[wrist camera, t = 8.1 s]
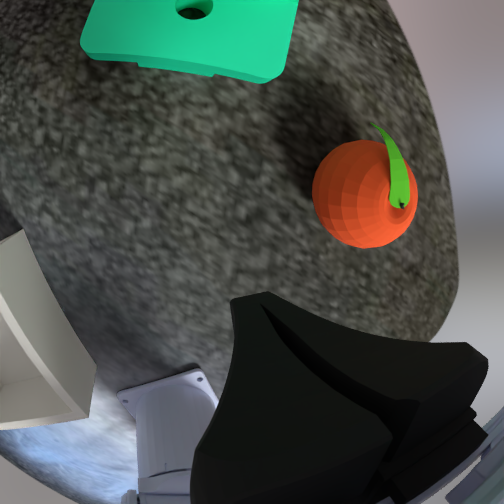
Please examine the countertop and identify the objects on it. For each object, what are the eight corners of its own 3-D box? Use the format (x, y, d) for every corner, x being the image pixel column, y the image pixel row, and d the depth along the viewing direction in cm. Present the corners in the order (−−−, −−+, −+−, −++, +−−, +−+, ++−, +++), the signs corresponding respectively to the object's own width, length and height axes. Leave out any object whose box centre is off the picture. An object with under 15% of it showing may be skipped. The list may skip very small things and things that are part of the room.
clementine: (287, 127, 19) (347, 121, 12) (369, 123, 20) (439, 124, 14) (298, 240, 22) (354, 279, 15) (374, 222, 23) (437, 250, 17)
